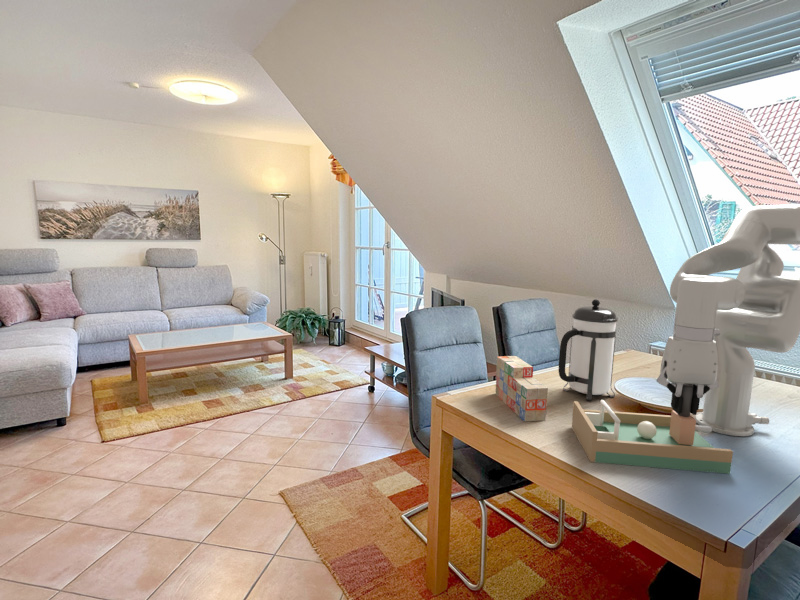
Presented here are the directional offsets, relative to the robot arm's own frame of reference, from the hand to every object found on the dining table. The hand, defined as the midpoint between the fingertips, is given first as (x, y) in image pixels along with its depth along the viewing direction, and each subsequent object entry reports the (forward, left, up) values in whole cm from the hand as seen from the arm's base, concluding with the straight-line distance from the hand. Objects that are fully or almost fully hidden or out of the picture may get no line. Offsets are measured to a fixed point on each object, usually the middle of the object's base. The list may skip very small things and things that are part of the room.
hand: (684, 411), depth 102 cm
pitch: (+8, 0, -10) cm, 13 cm away
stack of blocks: (+34, -21, -10) cm, 41 cm away
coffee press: (+12, -35, -10) cm, 38 cm away
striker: (-2, 0, -7) cm, 7 cm away
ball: (+7, 0, -5) cm, 9 cm away
